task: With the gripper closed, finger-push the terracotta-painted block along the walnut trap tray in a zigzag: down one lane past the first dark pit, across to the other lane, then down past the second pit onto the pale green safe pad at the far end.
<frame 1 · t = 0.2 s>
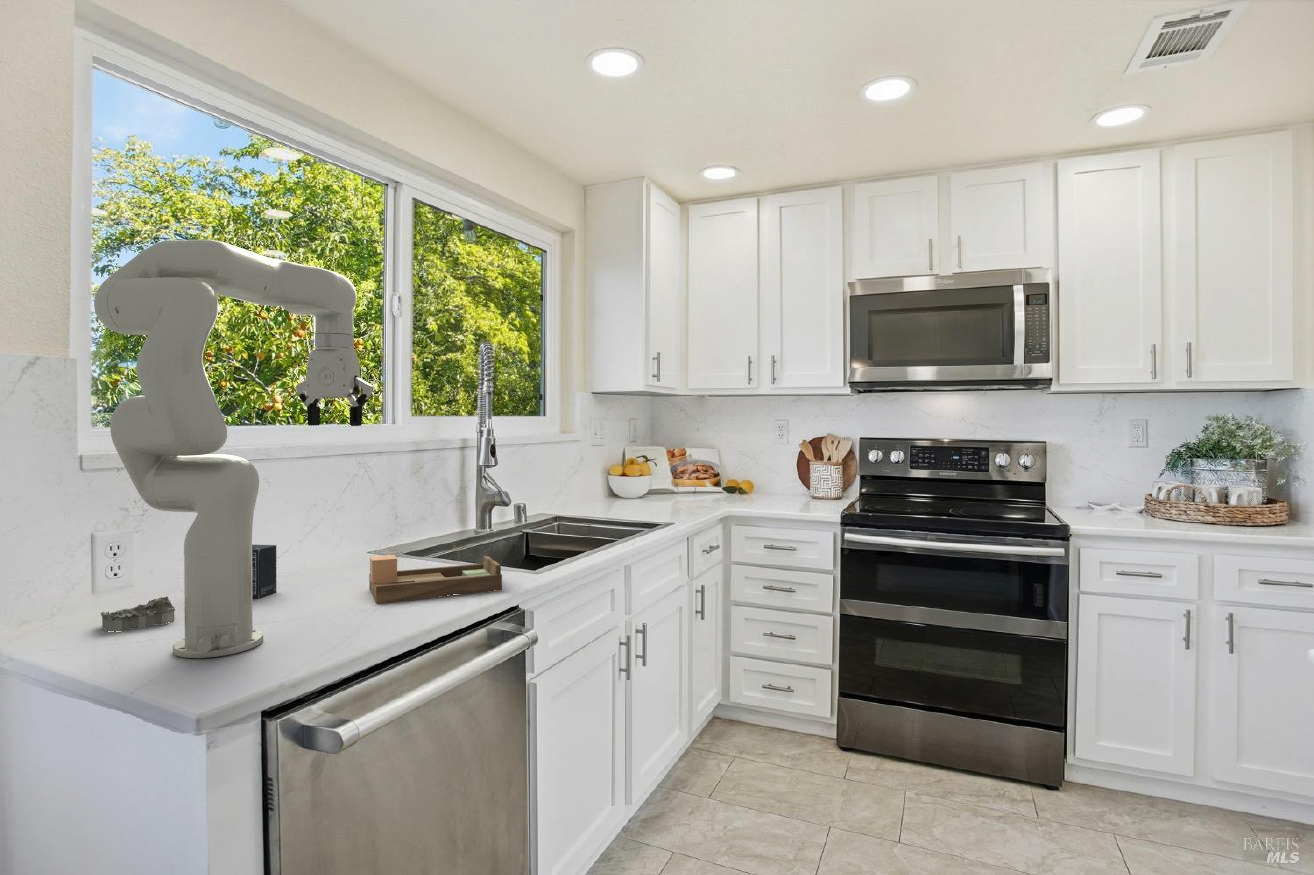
hand: (334, 425, 148), 36 cm above the countertop, tool pointing down, fingers open, 9 cm apart
trap box: (435, 589, 156), on the countertop
block: (383, 580, 154), point 2 cm above the countertop, touching trap box
egg carton: (139, 626, 128), on the countertop
small box: (245, 595, 150), on the countertop
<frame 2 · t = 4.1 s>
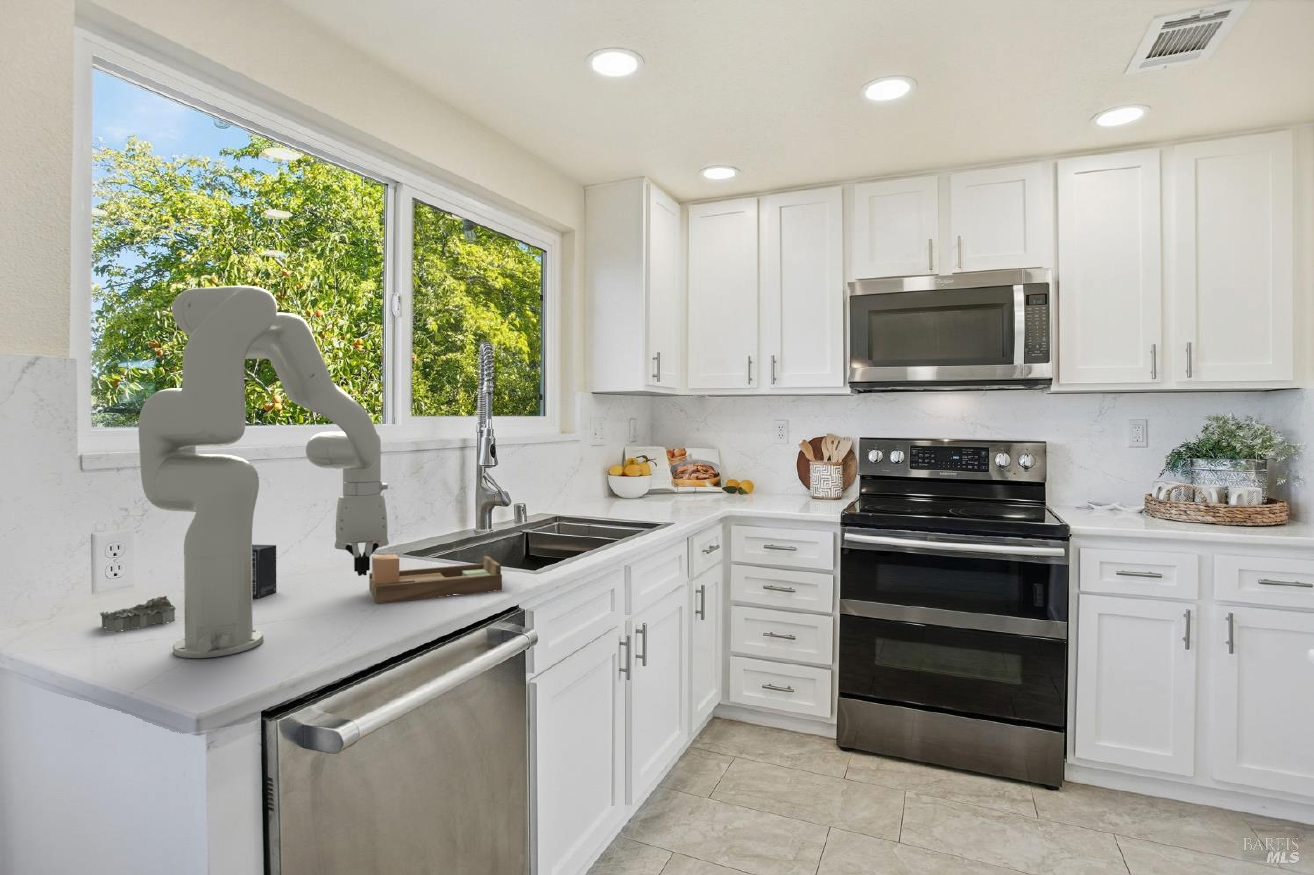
hand: (362, 574, 152), 4 cm above the countertop, tool pointing down, fingers closed
block: (385, 580, 154), point 3 cm above the countertop, touching gripper
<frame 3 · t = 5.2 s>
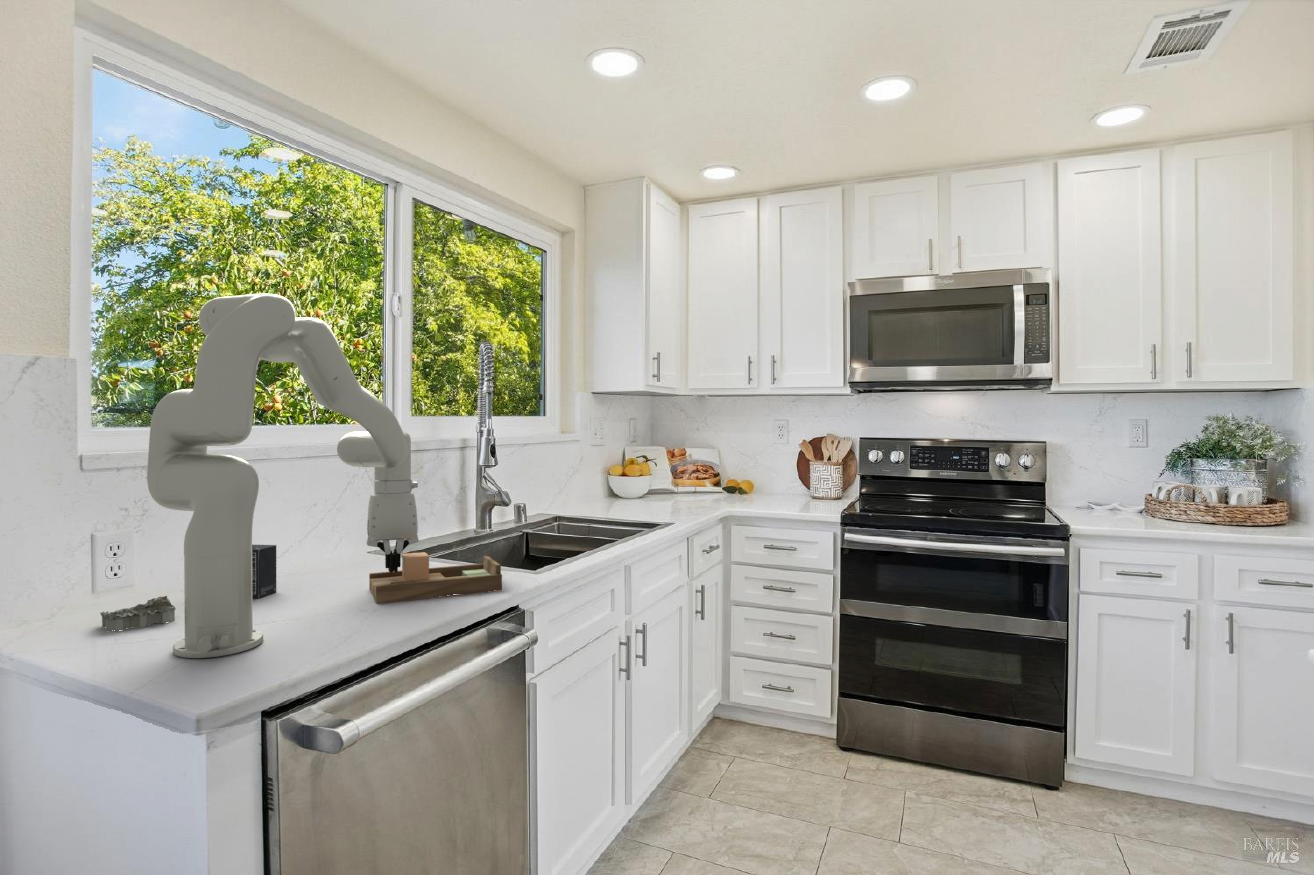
hand: (392, 570, 155), 4 cm above the countertop, tool pointing down, fingers closed
block: (415, 577, 157), point 3 cm above the countertop, touching gripper
everything else where it was.
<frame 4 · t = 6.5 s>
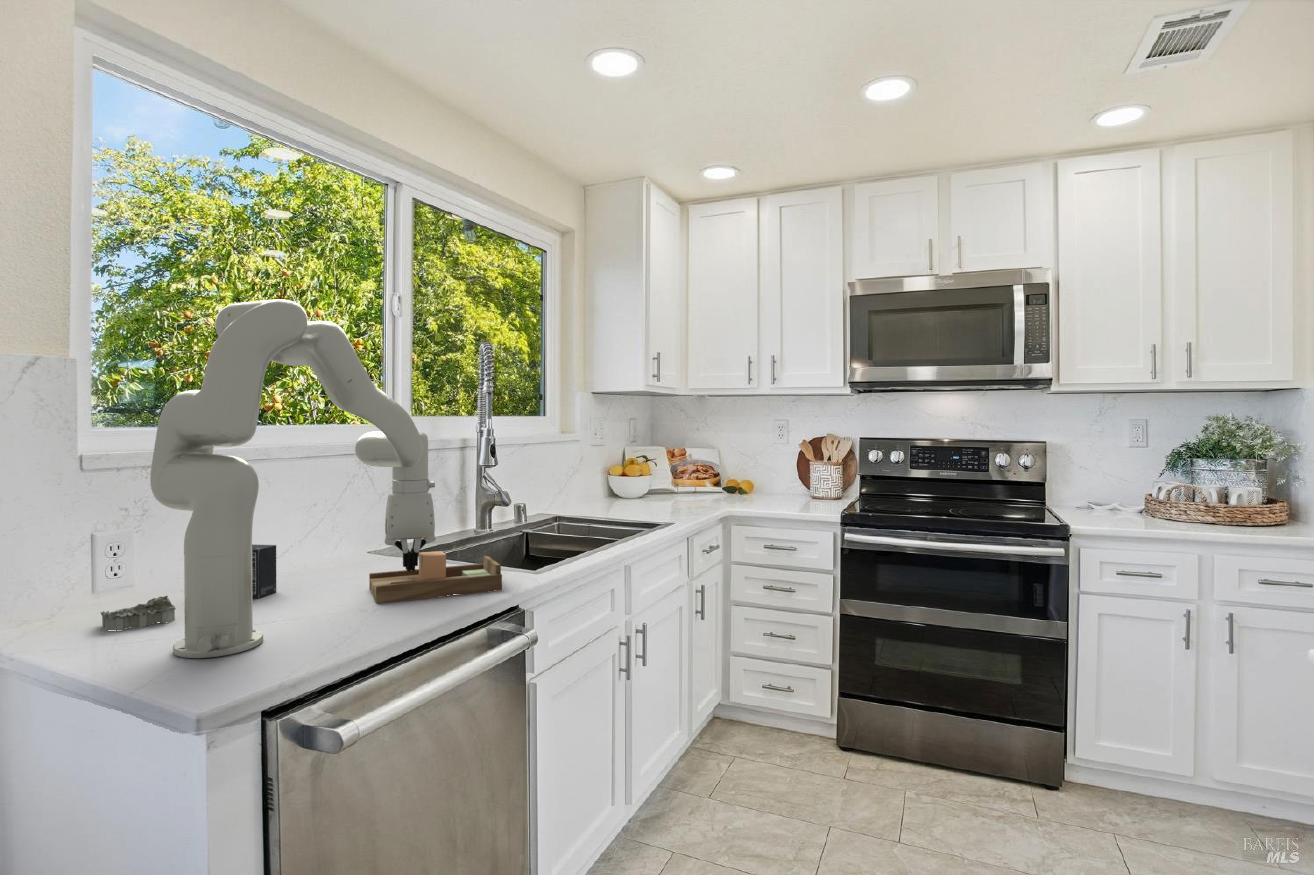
hand: (410, 569, 156), 4 cm above the countertop, tool pointing down, fingers closed
block: (432, 575, 159), point 3 cm above the countertop, touching gripper, trap box
everything else where it was.
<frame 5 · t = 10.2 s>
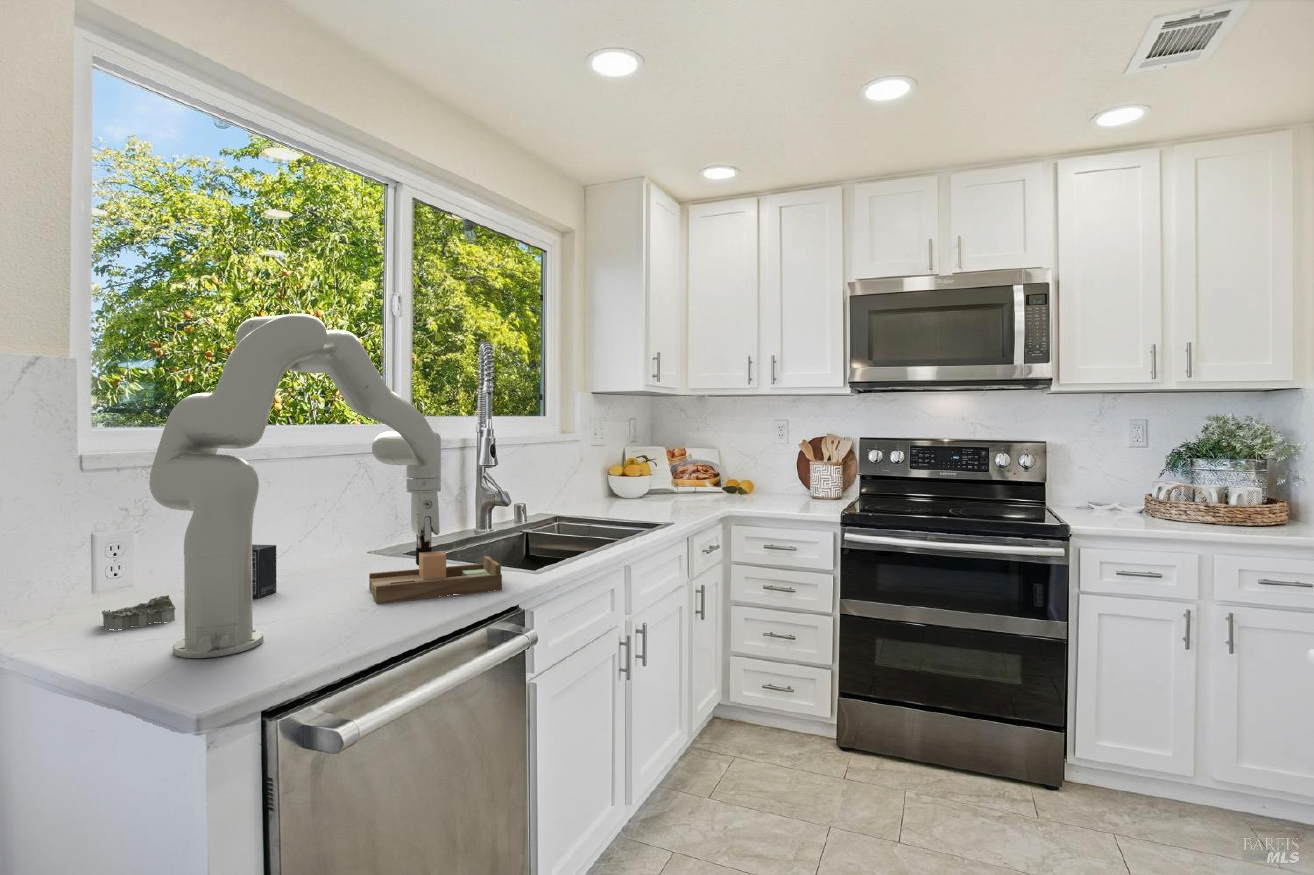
hand: (423, 564, 162), 4 cm above the countertop, tool pointing down, fingers closed
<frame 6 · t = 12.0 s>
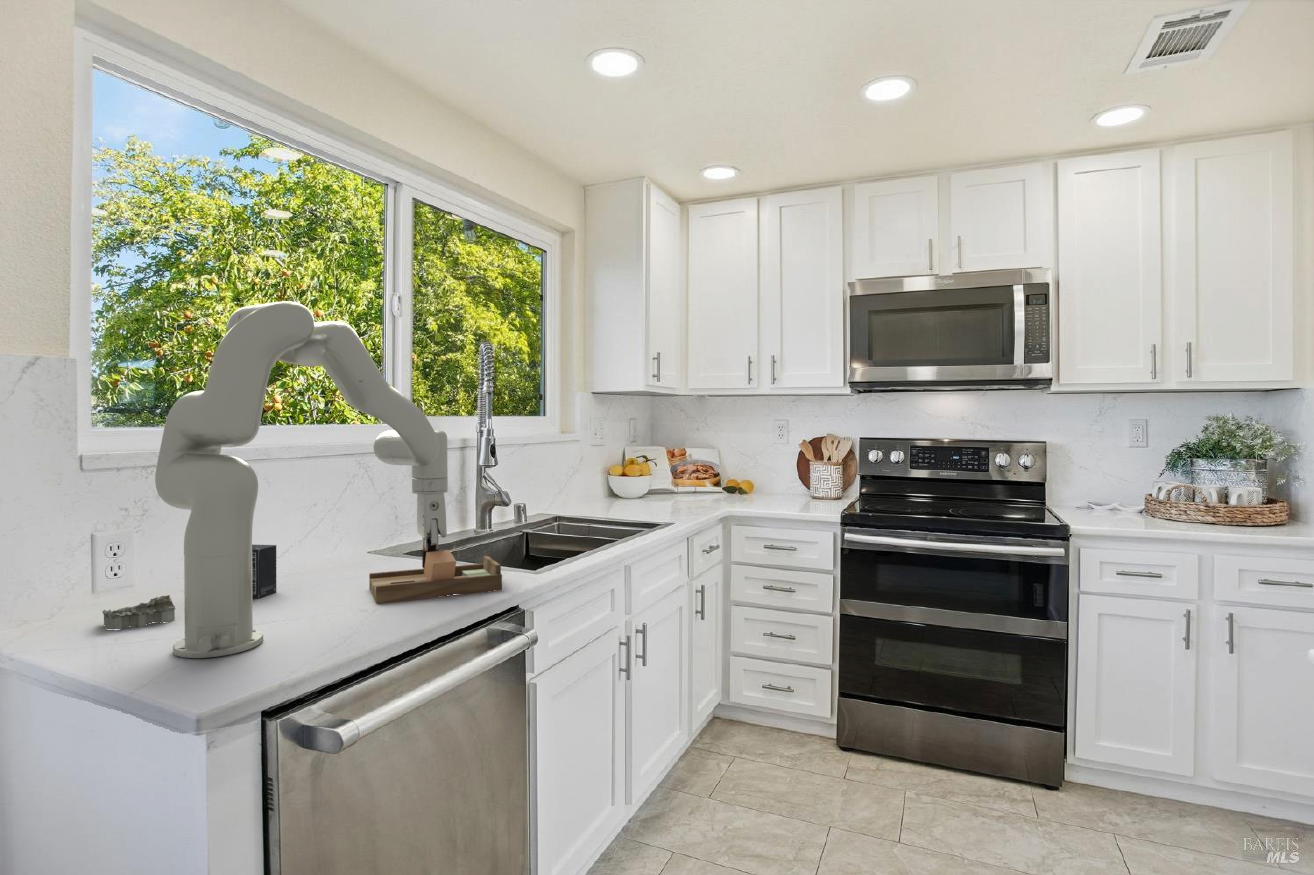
hand: (430, 567, 156), 5 cm above the countertop, tool pointing down, fingers closed
block: (438, 576, 154), point 3 cm above the countertop, tilted 20°, touching gripper, trap box
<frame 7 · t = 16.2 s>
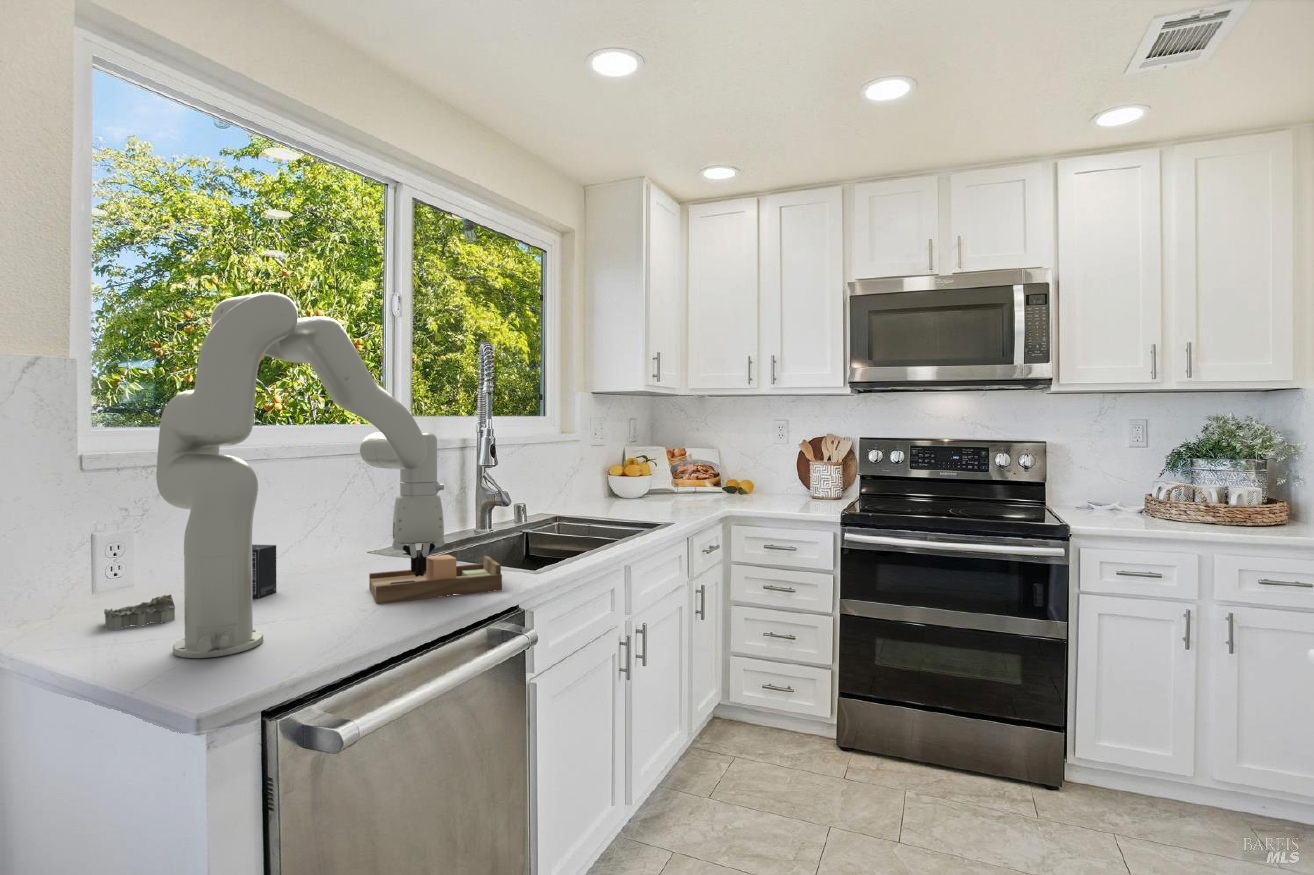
hand: (418, 574, 151), 4 cm above the countertop, tool pointing down, fingers closed
block: (441, 580, 154), point 3 cm above the countertop, touching gripper
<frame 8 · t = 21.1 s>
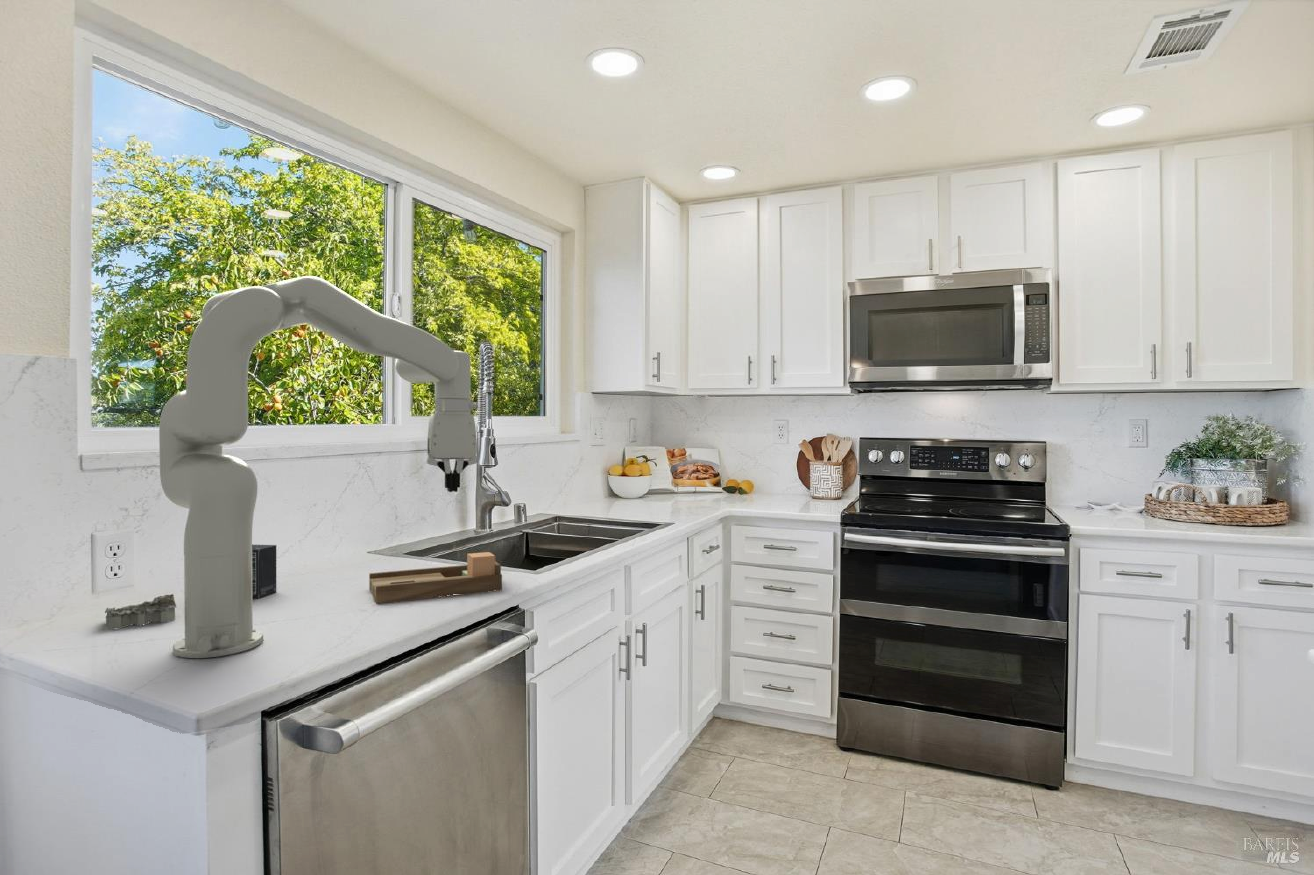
hand: (452, 491, 154), 22 cm above the countertop, tool pointing down, fingers closed
block: (481, 576, 158), point 2 cm above the countertop, touching trap box
at the end: block inside the target area on the trap box (2.7 cm from its centre), point 2.5 cm above the trap box's base; block point 2.5 cm above the countertop; block tilted 0° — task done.
